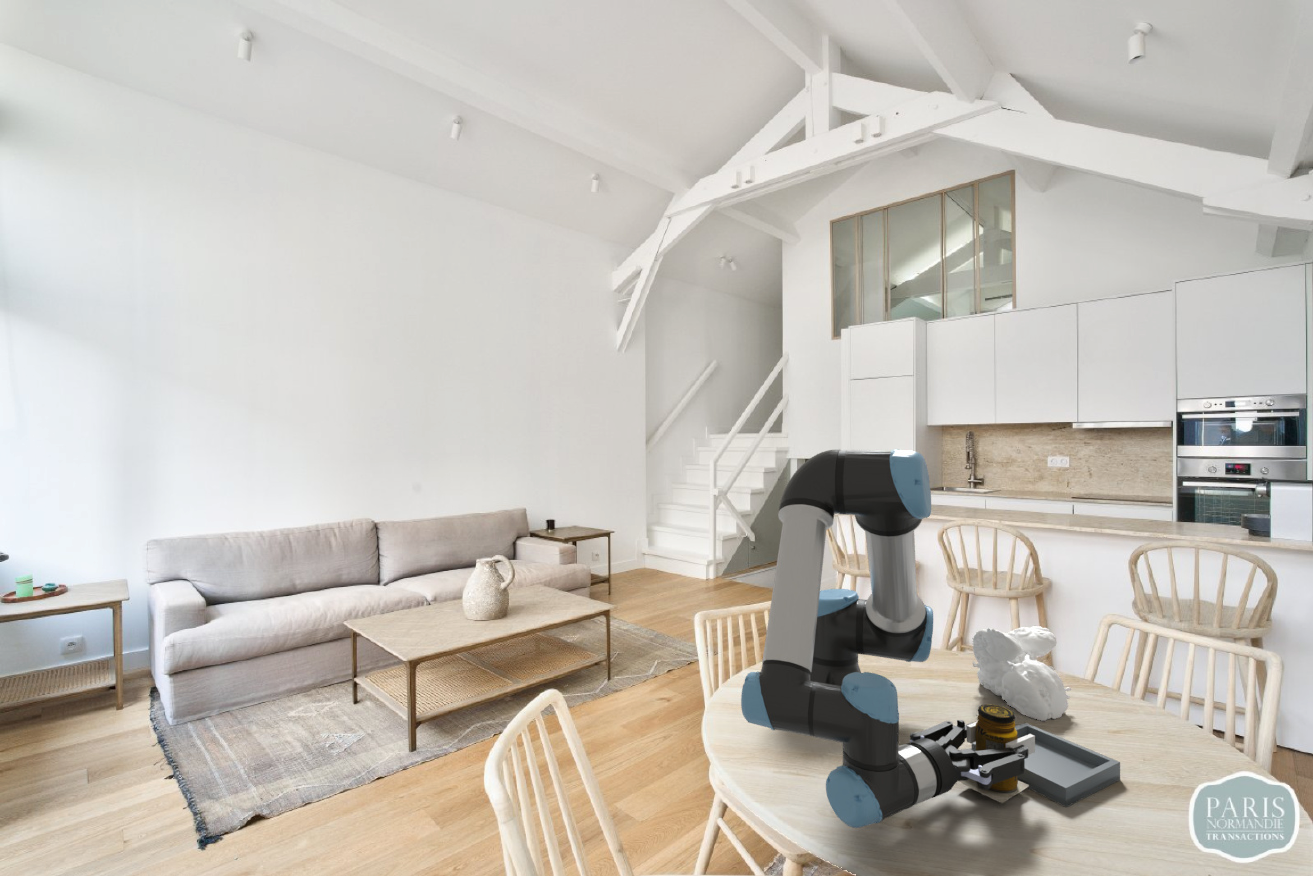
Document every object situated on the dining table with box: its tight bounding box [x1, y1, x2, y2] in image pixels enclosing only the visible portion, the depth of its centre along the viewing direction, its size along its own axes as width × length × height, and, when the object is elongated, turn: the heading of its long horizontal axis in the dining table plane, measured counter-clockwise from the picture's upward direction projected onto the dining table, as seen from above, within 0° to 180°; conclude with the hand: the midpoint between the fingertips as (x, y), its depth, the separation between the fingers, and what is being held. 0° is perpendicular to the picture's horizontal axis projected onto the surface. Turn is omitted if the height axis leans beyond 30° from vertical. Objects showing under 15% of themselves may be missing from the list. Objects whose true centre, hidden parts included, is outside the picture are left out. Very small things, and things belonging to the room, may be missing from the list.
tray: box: [971, 722, 1121, 808], centre depth 106 cm, size 16×16×3 cm
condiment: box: [958, 703, 1029, 804], centre depth 99 cm, size 7×8×12 cm
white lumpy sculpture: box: [972, 625, 1072, 722], centre depth 133 cm, size 19×20×20 cm
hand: (1012, 734), depth 102 cm, fingers closed on condiment, 6 cm apart
